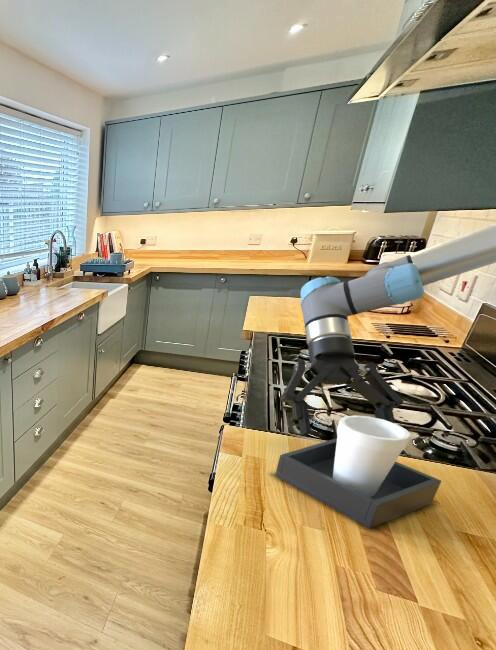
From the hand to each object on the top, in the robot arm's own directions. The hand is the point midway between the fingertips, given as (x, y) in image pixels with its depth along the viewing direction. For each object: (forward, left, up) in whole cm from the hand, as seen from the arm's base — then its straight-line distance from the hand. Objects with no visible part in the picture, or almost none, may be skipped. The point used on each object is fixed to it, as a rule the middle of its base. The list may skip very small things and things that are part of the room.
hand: (345, 437), depth 83 cm
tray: (-5, +3, -8) cm, 10 cm away
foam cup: (-5, +4, -7) cm, 10 cm away
